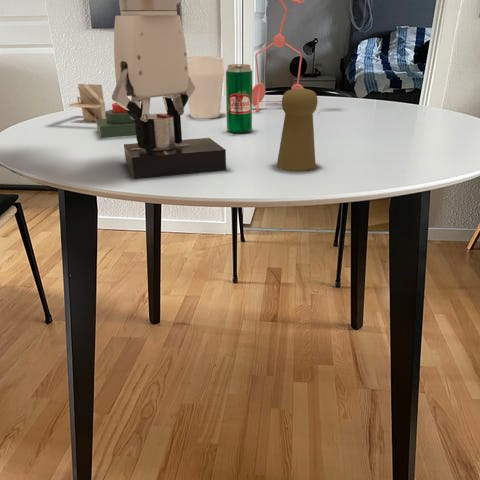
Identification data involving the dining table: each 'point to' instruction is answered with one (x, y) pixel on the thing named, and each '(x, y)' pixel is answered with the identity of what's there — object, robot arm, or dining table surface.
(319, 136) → the dining table surface
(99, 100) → the architectural model
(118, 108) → the button
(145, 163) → the panel
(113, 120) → the block
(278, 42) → the pink branching rod frame
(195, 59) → the cup
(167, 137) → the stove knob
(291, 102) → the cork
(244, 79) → the soda can
